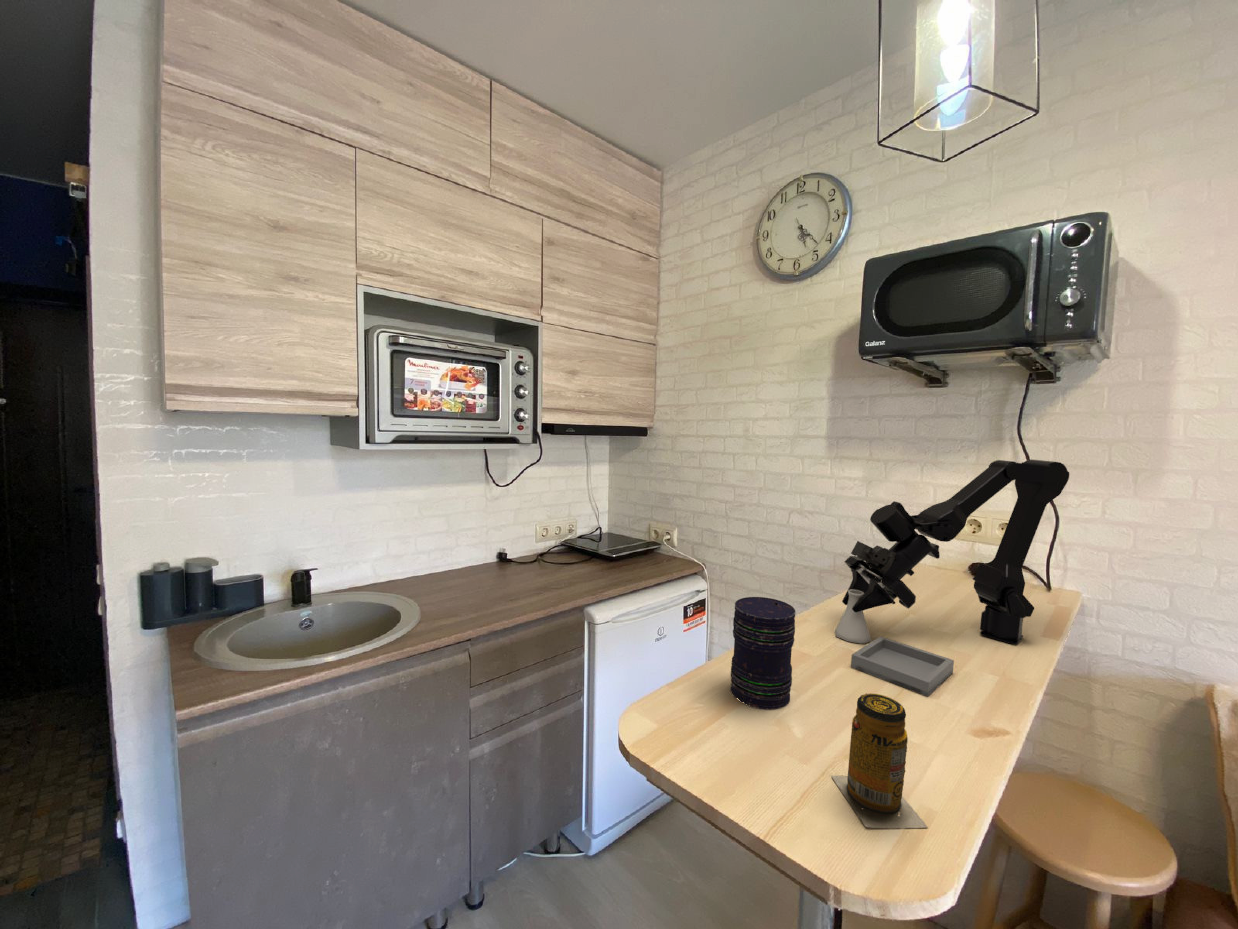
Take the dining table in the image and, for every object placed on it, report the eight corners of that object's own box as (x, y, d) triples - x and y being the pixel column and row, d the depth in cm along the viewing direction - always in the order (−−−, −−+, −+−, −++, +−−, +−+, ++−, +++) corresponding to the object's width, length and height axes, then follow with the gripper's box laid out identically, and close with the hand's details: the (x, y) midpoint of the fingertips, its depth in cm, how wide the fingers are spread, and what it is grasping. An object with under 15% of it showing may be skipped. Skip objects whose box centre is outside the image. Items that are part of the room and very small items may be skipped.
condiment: (885, 776, 67) (892, 688, 66) (928, 829, 58) (937, 729, 57) (830, 777, 66) (837, 688, 65) (865, 830, 58) (873, 729, 57)
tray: (952, 673, 95) (953, 660, 95) (927, 697, 86) (929, 682, 86) (879, 648, 105) (880, 636, 104) (850, 667, 96) (851, 654, 96)
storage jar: (762, 717, 79) (767, 623, 78) (717, 688, 87) (721, 603, 86) (803, 699, 85) (809, 611, 83) (757, 673, 93) (762, 593, 92)
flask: (867, 647, 105) (870, 600, 104) (830, 637, 109) (833, 592, 108) (874, 636, 111) (878, 591, 110) (839, 627, 115) (842, 583, 114)
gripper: (855, 520, 117) (805, 567, 118) (905, 540, 99) (845, 596, 99) (886, 555, 118) (836, 601, 119) (941, 581, 100) (882, 635, 100)
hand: (848, 607), depth 109 cm, fingers open, 4 cm apart
